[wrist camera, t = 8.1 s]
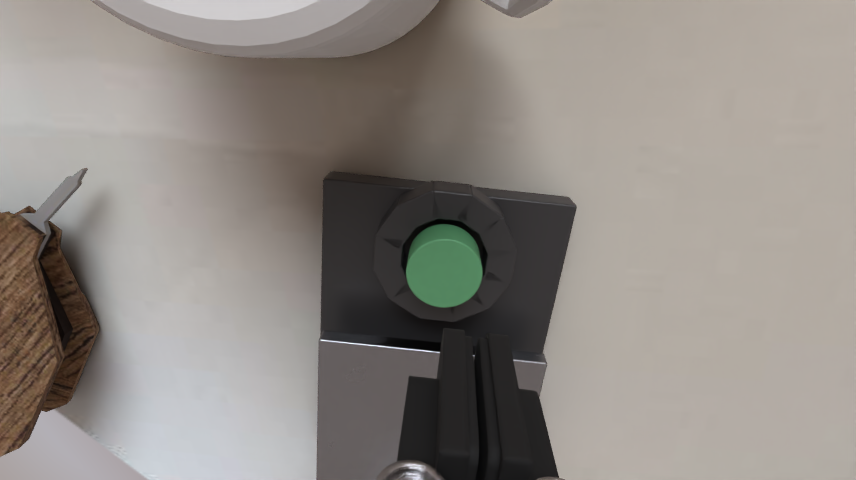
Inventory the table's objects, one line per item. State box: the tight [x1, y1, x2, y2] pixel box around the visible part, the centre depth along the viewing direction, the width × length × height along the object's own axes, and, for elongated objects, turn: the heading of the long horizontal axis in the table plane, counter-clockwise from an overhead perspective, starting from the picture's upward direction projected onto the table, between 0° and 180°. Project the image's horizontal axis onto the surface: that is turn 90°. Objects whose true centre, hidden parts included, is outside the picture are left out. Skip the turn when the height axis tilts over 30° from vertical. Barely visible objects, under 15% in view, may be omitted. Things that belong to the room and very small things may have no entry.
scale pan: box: [317, 330, 547, 480], centre depth 22 cm, size 9×10×1 cm
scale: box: [321, 172, 577, 353], centre depth 22 cm, size 16×11×3 cm
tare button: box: [406, 224, 483, 308], centre depth 19 cm, size 3×3×2 cm
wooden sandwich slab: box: [0, 168, 99, 456], centre depth 22 cm, size 12×16×5 cm
